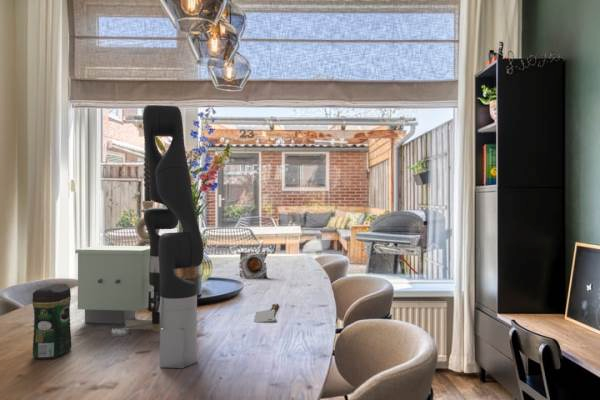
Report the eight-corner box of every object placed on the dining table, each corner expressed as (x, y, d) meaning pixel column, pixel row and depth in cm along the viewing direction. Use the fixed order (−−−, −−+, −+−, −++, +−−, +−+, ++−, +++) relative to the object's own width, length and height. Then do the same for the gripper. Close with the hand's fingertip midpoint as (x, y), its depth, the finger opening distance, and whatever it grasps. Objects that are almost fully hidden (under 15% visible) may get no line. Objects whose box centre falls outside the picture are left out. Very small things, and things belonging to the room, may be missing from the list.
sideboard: (141, 328, 144) (142, 250, 144) (74, 326, 146) (74, 249, 146) (159, 317, 158) (159, 246, 158) (97, 316, 160) (97, 245, 160)
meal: (268, 277, 240) (268, 252, 240) (266, 278, 236) (266, 253, 236) (240, 276, 242) (240, 252, 242) (238, 278, 238) (238, 253, 238)
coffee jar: (47, 348, 126) (47, 281, 126) (75, 348, 125) (75, 282, 125) (26, 360, 116) (26, 288, 116) (56, 360, 116) (56, 288, 116)
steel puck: (123, 337, 136) (123, 330, 136) (108, 336, 137) (108, 330, 137) (132, 332, 141) (132, 326, 141) (117, 332, 142) (117, 325, 142)
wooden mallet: (164, 331, 141) (165, 306, 141) (122, 330, 143) (122, 305, 143) (169, 328, 145) (169, 303, 145) (128, 326, 147) (128, 302, 147)
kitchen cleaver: (258, 304, 176) (283, 303, 175) (258, 306, 176) (284, 306, 176) (246, 321, 152) (275, 320, 151) (246, 324, 152) (275, 323, 151)
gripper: (163, 273, 136) (163, 326, 136) (180, 266, 150) (180, 314, 150) (140, 273, 137) (140, 326, 137) (159, 266, 151) (159, 314, 151)
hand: (161, 320), depth 144 cm, fingers open, 8 cm apart
